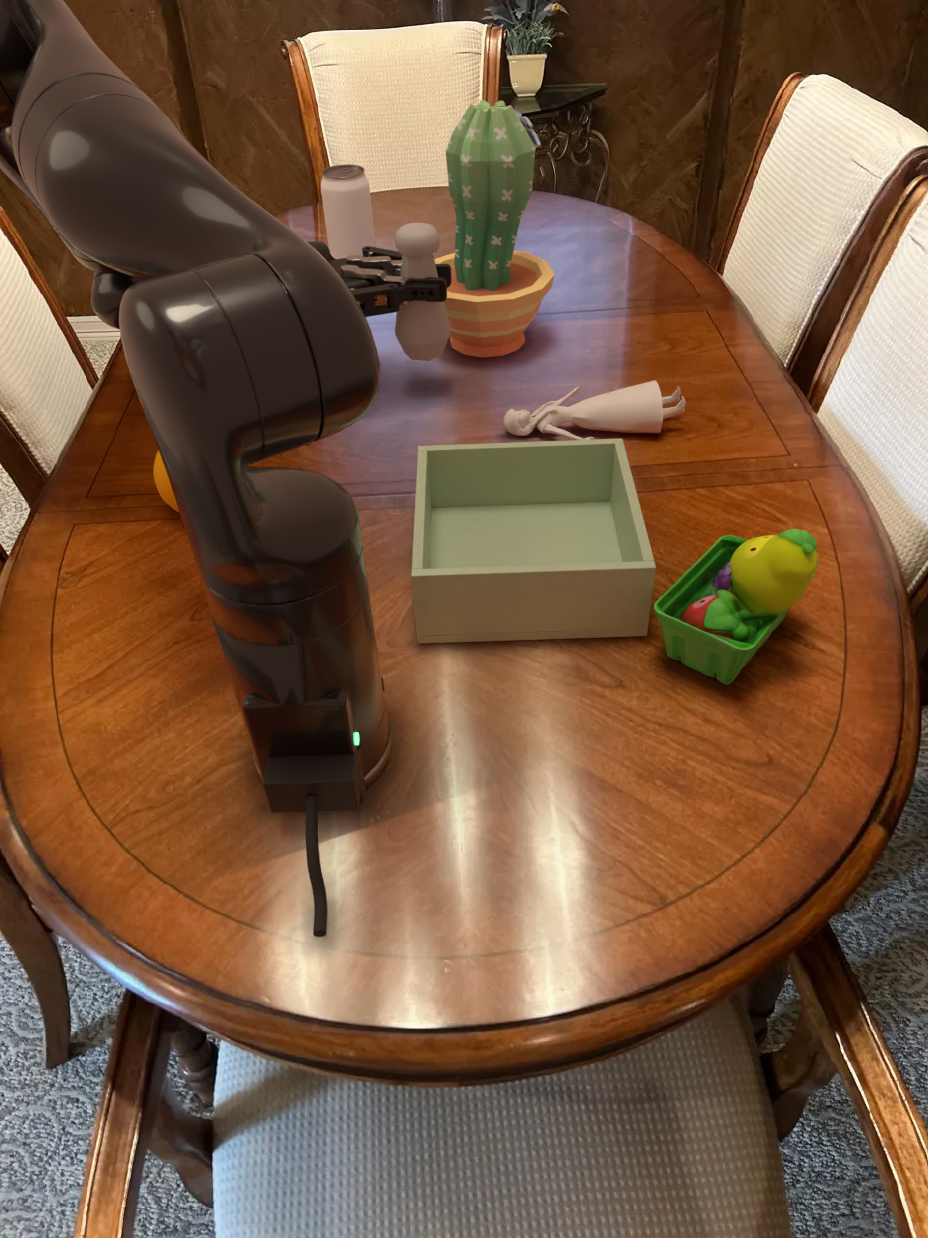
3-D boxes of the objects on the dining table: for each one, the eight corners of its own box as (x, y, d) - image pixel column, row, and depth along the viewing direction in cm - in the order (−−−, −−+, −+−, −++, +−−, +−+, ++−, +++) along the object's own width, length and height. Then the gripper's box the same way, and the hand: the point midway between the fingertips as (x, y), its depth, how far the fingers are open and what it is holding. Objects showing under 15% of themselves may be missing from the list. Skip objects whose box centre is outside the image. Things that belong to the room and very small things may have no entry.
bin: (647, 636, 70) (656, 567, 65) (417, 643, 70) (411, 575, 66) (616, 503, 83) (622, 438, 78) (423, 510, 83) (418, 445, 79)
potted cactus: (575, 353, 105) (586, 111, 88) (450, 381, 101) (437, 134, 84) (519, 303, 116) (521, 79, 99) (404, 326, 112) (385, 97, 95)
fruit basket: (715, 580, 75) (738, 462, 67) (819, 625, 70) (857, 504, 63) (642, 659, 68) (658, 538, 61) (752, 713, 64) (784, 590, 56)
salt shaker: (444, 366, 95) (438, 238, 86) (391, 362, 96) (379, 235, 87) (456, 341, 99) (451, 217, 90) (405, 338, 100) (395, 215, 91)
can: (323, 269, 127) (310, 176, 119) (341, 251, 131) (330, 161, 123) (366, 272, 125) (356, 179, 117) (383, 255, 130) (374, 164, 122)
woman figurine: (697, 411, 85) (506, 433, 86) (694, 452, 88) (509, 473, 89) (671, 354, 94) (497, 375, 95) (669, 393, 97) (500, 413, 98)
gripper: (256, 270, 86) (437, 272, 85) (293, 219, 97) (455, 220, 95) (270, 345, 91) (441, 348, 90) (304, 289, 102) (458, 291, 100)
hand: (447, 282), depth 92 cm, fingers closed on salt shaker, 3 cm apart
